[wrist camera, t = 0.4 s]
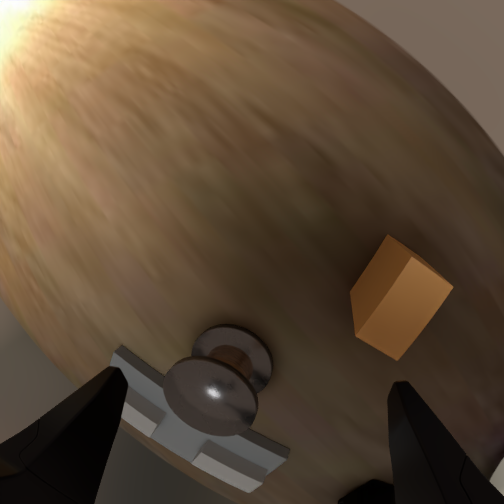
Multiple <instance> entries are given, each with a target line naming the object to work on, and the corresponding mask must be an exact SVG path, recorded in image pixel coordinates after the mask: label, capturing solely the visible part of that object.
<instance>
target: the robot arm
mask: <svg viewBox="0 0 504 504" xmlns="http://www.w3.org/2000/svg"><path fill="white" fill-rule="evenodd" d="M127 391H128V381H127V379H126V377H125V376H124V374H123V372H122V370H121V369H120V368H119V367H114V366H109V367H107V368H106V369H104V370H103V371H102V372H100V373H99V374H98V375H96V376H95V377H94V378H92V379H91V380H90V381H88V382H87V383H86V384H84V385H83V386H82V387H80V388H79V389H78V390H76V391H75V392H74V393H72V394H71V395H70V396H68V397H67V398H66V399H64V400H63V401H62V402H60V403H59V404H58V405H56V406H55V407H54V408H52V409H51V410H50V411H48V412H47V413H46V414H44V415H43V416H42V417H40V419H38V420H36V421H35V422H34V423H32V424H31V425H30V426H28V427H27V428H25V429H24V430H22V431H21V432H19V433H18V434H16V435H14V436H13V437H11V438H9V439H8V440H6V441H4V442H3V443H1V444H0V504H94V503H95V499H96V496H97V492H98V489H99V486H100V482H101V479H102V476H103V473H104V469H105V466H106V463H107V460H108V457H109V454H110V451H111V448H112V444H113V442H114V439H115V436H116V433H117V430H118V427H119V424H120V420H121V416H122V412H123V407H124V403H125V399H126V395H127ZM387 404H388V428H389V448H390V455H391V463H392V471H393V480H394V486H393V485H389V484H386V483H383V482H380V481H377V480H371V481H369V482H368V483H366V484H365V485H363V486H362V487H360V488H359V489H357V490H355V491H354V492H352V493H351V494H349V495H347V496H346V497H344V498H342V499H341V500H339V501H338V504H504V496H503V495H502V494H501V493H500V492H499V491H498V490H497V489H496V488H495V487H494V486H493V485H492V484H491V483H490V482H489V481H488V479H487V478H486V477H485V476H484V475H483V474H482V473H481V472H480V471H479V469H478V468H477V467H476V466H475V464H474V463H473V462H472V461H471V459H470V458H469V457H468V456H466V453H465V452H464V450H463V449H462V448H461V447H460V445H459V444H458V443H457V441H456V440H455V439H454V438H453V436H452V435H451V434H450V433H449V431H448V430H447V429H446V428H445V426H444V425H443V424H442V423H441V421H440V420H439V419H438V418H437V416H436V415H435V414H434V413H433V411H432V410H431V409H430V408H429V406H428V405H427V404H426V403H425V401H424V400H423V399H422V398H421V397H420V395H419V394H418V393H417V392H416V390H415V389H414V388H413V387H412V386H411V384H410V383H409V382H408V381H406V380H402V381H395V382H394V384H393V386H392V388H391V391H390V393H389V395H388V400H387Z"/></svg>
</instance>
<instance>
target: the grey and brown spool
mask: <svg viewBox="0 0 504 504" xmlns="http://www.w3.org/2000/svg"><path fill="white" fill-rule="evenodd" d="M272 370H273V360H272V356H271V353H270V351H269V349H268V347H267V346H266V344H265V343H264V342H263V341H262V340H261V338H259V337H258V336H257V335H256V334H254V333H253V332H251V331H249V330H248V329H245V328H243V327H240V326H237V325H231V324H222V325H216V326H213V327H211V328H209V329H207V330H206V331H204V332H203V333H202V334H201V335H200V336H199V338H198V339H197V340H196V341H195V343H194V345H193V348H192V354H191V357H186V358H183V359H181V360H179V361H178V362H177V363H175V364H174V365H173V366H172V368H171V369H170V370H169V371H168V372H167V374H166V375H165V378H164V381H163V392H164V396H165V399H166V401H167V403H168V405H169V407H170V408H171V409H172V411H173V412H174V413H175V414H176V415H177V416H178V417H179V418H180V419H181V420H182V421H183V422H184V423H186V424H187V425H189V426H190V427H192V428H194V429H196V430H198V431H200V432H203V433H206V434H209V435H214V436H222V437H224V436H234V435H238V434H240V433H242V432H244V431H246V430H247V429H248V428H249V427H250V426H251V425H252V423H253V421H254V419H255V417H256V414H257V411H258V397H257V393H259V392H260V391H261V390H263V389H264V388H265V386H266V385H267V384H268V382H269V379H270V377H271V374H272Z"/></svg>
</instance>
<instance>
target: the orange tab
mask: <svg viewBox="0 0 504 504" xmlns="http://www.w3.org/2000/svg"><path fill="white" fill-rule="evenodd" d="M452 288H453V286H452V285H451V284H450V283H449V282H448V281H447V280H446V279H444V278H443V277H442V276H441V275H440V274H439V273H438V272H437V271H436V270H435V269H434V268H432V267H431V266H430V265H429V264H428V263H427V262H426V261H425V260H423V259H422V258H421V257H420V256H419V255H417V254H416V253H414V252H413V251H412V250H410V249H409V248H407V247H406V246H404V245H403V244H402V243H400V242H399V241H397V240H396V239H394V238H393V237H391V236H390V235H388V234H387V236H386V237H385V239H384V241H383V242H382V244H381V245H380V247H379V249H378V250H377V252H376V253H375V255H374V256H373V258H372V259H371V261H370V263H369V264H368V266H367V267H366V269H365V270H364V272H363V273H362V275H361V276H360V278H359V279H358V281H357V282H356V284H355V285H354V286H353V288H352V289H351V291H350V297H351V304H352V312H353V320H354V329H355V336H356V337H357V338H359V339H361V340H363V341H364V342H366V343H368V344H369V345H371V346H373V347H374V348H376V349H378V350H379V351H381V352H383V353H385V354H386V355H388V356H390V357H391V358H393V359H395V360H397V361H398V360H399V358H400V357H401V356H402V355H403V354H404V353H405V351H406V350H407V349H408V348H409V346H410V345H411V344H412V343H413V342H414V340H415V339H416V338H417V337H418V335H419V334H420V333H421V331H422V330H423V329H424V328H425V326H426V325H427V324H428V322H429V321H430V320H431V318H432V317H433V316H434V314H435V313H436V311H437V310H438V309H439V307H440V306H441V304H442V303H443V302H444V300H445V299H446V297H447V296H448V294H449V293H450V291H451V290H452Z"/></svg>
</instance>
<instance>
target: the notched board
mask: <svg viewBox="0 0 504 504" xmlns="http://www.w3.org/2000/svg"><path fill="white" fill-rule="evenodd" d="M110 366H114V367H119V368H120V369H121V370H122V372H123V374H124V376H125V377H126V379H127V381H128V391H127V395H126V399H125V403H124V407H123V412H122V416H121V417H122V418H123V419H124V420H126V421H127V422H128V423H130V424H131V425H132V426H134V427H135V428H136V429H138V430H139V431H141V432H142V433H144V434H145V435H146V436H148V437H149V438H150V437H151V438H152V439H154V440H155V441H157V442H158V443H160V444H161V445H163V446H164V447H166V448H168V449H169V450H171V451H172V452H174V453H176V454H177V455H179V456H181V457H182V458H184V459H186V460H187V461H189V462H191V464H193V465H194V466H196V467H198V468H200V469H202V470H203V471H205V472H207V473H209V474H211V475H213V476H215V477H217V478H219V479H220V480H222V481H224V482H226V483H228V484H231V485H233V486H235V487H237V488H239V489H241V490H243V491H245V492H248V493H250V492H251V491H253V490H254V489H256V488H257V487H259V486H260V485H262V484H263V482H264V479H265V476H266V475H268V474H269V473H270V472H272V471H273V470H274V469H276V468H277V467H278V466H280V465H281V464H282V463H283V462H285V461H286V460H287V458H288V454H289V450H290V449H288V448H286V447H284V446H282V445H280V444H278V443H276V442H274V441H272V440H270V439H268V438H266V437H264V436H262V435H260V434H258V433H256V432H254V431H252V430H250V429H249V428H248V429H247V430H246V431H244V432H242V433H240V434H238V435H234V436H224V437H222V436H214V435H209V434H206V433H203V432H200V431H198V430H196V429H194V428H192V427H190V426H189V425H187V424H186V423H184V422H183V421H182V420H181V419H180V418H179V417H178V416H177V415H176V414H175V413H174V412H173V411H172V409H171V408H170V407H169V405H168V403H167V401H166V399H165V396H164V392H163V381H164V378H165V377H164V376H163V375H161V374H160V373H159V372H157V371H156V370H154V369H153V368H152V367H150V366H149V365H147V364H146V363H145V362H143V361H142V360H141V359H139V358H138V357H137V356H135V355H134V354H133V353H132V352H130V351H129V350H128V349H126V348H125V347H124V346H123V345H122V346H121V347H119V348H118V349H117V350H115V351H114V353H113V356H112V359H111V362H110Z"/></svg>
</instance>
